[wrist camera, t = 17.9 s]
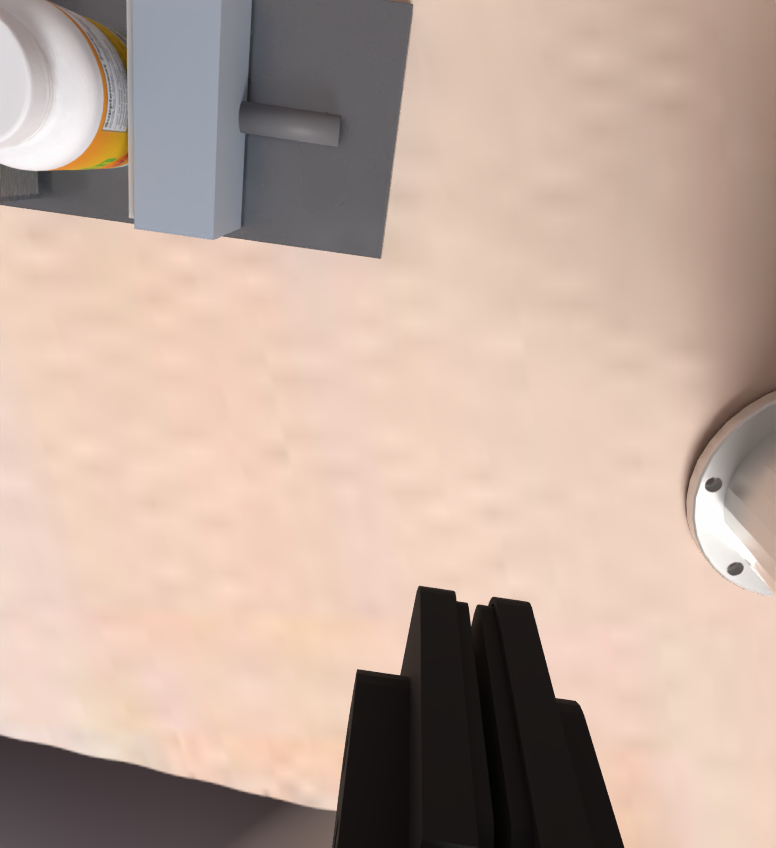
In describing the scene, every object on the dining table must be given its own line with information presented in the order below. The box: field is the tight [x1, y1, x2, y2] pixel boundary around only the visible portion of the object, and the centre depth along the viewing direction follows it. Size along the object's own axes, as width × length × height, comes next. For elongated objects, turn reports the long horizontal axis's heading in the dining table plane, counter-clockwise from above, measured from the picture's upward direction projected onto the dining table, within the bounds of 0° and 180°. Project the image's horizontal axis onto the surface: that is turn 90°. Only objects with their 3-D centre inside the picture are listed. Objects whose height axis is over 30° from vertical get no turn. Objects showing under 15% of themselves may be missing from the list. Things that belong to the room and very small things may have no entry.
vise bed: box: [0, 0, 413, 259], centre depth 27 cm, size 18×10×6 cm, turn 82°
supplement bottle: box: [0, 0, 128, 171], centre depth 23 cm, size 5×5×10 cm
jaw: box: [126, 0, 341, 240], centre depth 26 cm, size 7×9×4 cm
